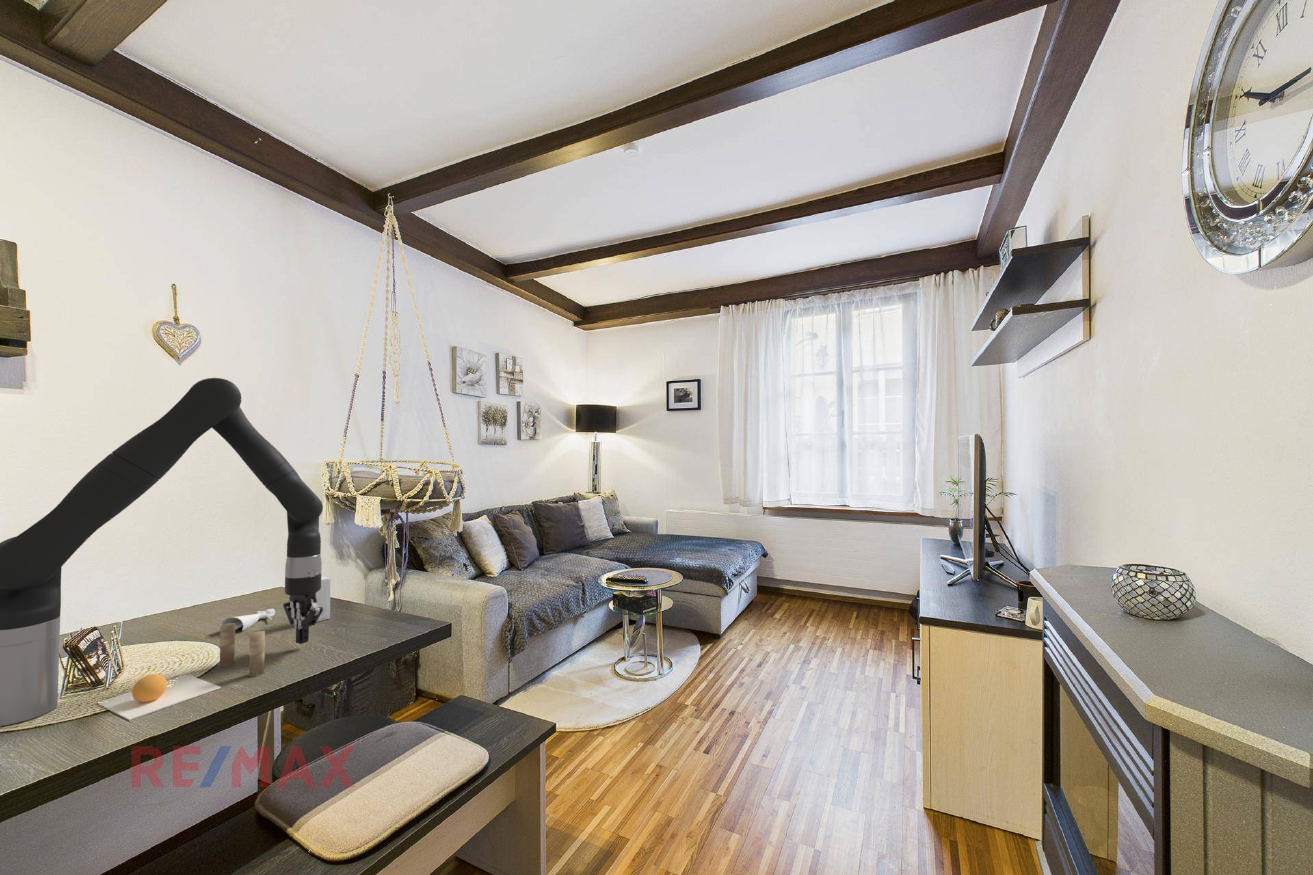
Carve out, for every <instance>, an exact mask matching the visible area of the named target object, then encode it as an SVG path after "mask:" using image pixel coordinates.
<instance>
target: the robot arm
mask: <svg viewBox="0 0 1313 875" xmlns="http://www.w3.org/2000/svg"><path fill="white" fill-rule="evenodd" d="M241 403H242V394H241V391H240V389H239V388H238V386H237V385H236V384H235V383H234V382H232V381H230V380H228V379H225V378H221V377H208V378H204V379H201V380H199V381H197V382H196V383H194V384H192V386H191V387H190V388H189V389H188V391H186V393H185V394H184V395H183V396H182V397H181V399H180V400H178V402H176V404H175V405H173V407H171V409H169V410H168V411H167V412H166V413H165V414H164V415H162V416H161V417H160V418H159V419H158V420H156V421H155V422H153V423H152V424H150V425H149V426H147V427H146V428H144V429H142V430H141V431H139V432H138V433H137V434H135V435H134V436H133V437H131V438H129V439H128V440H126V441H125V442H124V443H122V444H121V445H120V446H118V447H117V448H115V449H114V450H113V451H112V452H111V453H109V454H108V455H106V456H105V457H104V458H103V459H102V460H100V462H98V463H97V464H95V466H94V467H93V468H91V469H90V470H89V471H88V472H87V473H86V474H85V475H84V476H83V477H82V478H81V479H80V480H79V481H78V482H76V484H75V485H74V486H73V487H72V488H71V490H69V492H67V494H66V495H65V496H64V497H63V498H62V500H61V501H60V502H59V503H58V504H56V506H55V507H54V508H53V509H52V510H51V511H50V512H49V513H47V514H46V515H44V516H43V517H42V518H41V519H39V520H38V521H36V522H35V523H34V524H32V525H31V526H30V527H28V528H27V529H25V530H24V531H22V532H21V533H20V534H18V535H17V536H13V537H10V538H8V539H5V540H3V541H0V727H4V726H10V725H13V724H17V723H21V722H22V723H23V722H25V721H29V720H32V719H34V718H37V717H41V716H43V715H45V714H47V713H49V712H51V711H52V710H54V709H56V708H57V707H58V701H59V675H60V674H59V672H60V671H59V667H60V665H59V664H60V643H61V642H60V639H61V637H60V636H61V635H60V634H61V610H62V608H61V606H62V588H61V587H62V567H63V566H64V565H65V564H66V562H67V561H68V560H69V559H70V558H71V557H72V556H73V555H74V554H75V552H77V550H78V549H80V547H82V546H83V544H84V543H85V542H86V541H88V539H89V538H90V537H92V535H93V534H94V533H96V532H97V531H98V530H99V529H100V528H102V527H103V526H104V525H106V524H107V523H108V522H110V521H111V520H113V519H114V518H115V517H116V516H118V515H119V514H120V513H121V512H123V511H124V510H125V509H127V508H128V507H129V506H130V505H132V504H133V503H134V502H136V501H137V500H138V499H139V498H140V497H141V496H143V495H144V494H145V493H146V492H147V491H148V490H150V489H151V488H153V486H155V484H157V483H158V482H159V481H160V480H161V479H162V478H163V477H164V476H165V475H166V474H167V473H168V472H169V471H170V470H171V469H172V468H173V467H174V466H175V465H176V464H177V462H178V461H179V460H180V459H181V458H182V457H183V455H185V453H186V452H187V451H188V449H190V448H191V446H192V445H193V444H194V443H195V442H196V441H197V440H198V439H199V438H200V437H201V436H203V435H204V434H205V433H207V432H208V431H210V430H211V429H212V430H214V431H215V432H216V433H217V434H219V435H220V436H221V437H222V438H223V439H224V440H225V442H227V444H228V445H229V446H230V447H231V448H232V449H233V451H235V453H237V455H238V456H239V457H240V458H241V460H242V461H243V462H244V463H245V465H246V466H247V468H248V469H249V470H250V471H251V472H252V473H253V474H254V476H255V477H256V478H257V479H258V480H259V481H260V482H261V484H262V485H263V486H264V487H265V488H266V490H268V491H269V492H270V493H271V494H272V495H273V496H274V497H275V498H276V499H277V500H278V502H279V504H280V505H281V506H282V507H283V509H284V510H285V512H286V519H287V520H286V521H287V524H286V525H287V542H286V561H285V566H284V567H285V568H284V571H285V572H284V594H285V595H286V596H287V595H288V596H289V601H287V602H284V603H283V604H282V607H283V609H284V611H285V615H286V616H287V619H288V622H289V624H290V625H292V626H293V628H294V629H295V643H296V644H299V645H302V644H306V643H308V642H309V639H310V638H309V636H310V634H309V633H310V632H309V631H310V629H309V628H310V627H312V626H315V625H316V624H317V623H318V622H317V620H318V618H319V617H320V615H321V613H322V611H323V607H318V606H317V604H316V603H317V598H316V592H317V591H319V590H320V589H321V577H322V565H323V564H322V556H321V550H322V547H321V546H322V544H321V543H322V540H321V532H320V529H319V527H320V516H321V515H322V513H323V506H324V505H323V502H322V500H321V499H320V498H319V496H317V494H316V493H315V492H314V491H313V490H312V489H311V488H310V486H308V485H307V484H306V483H305V482H304V481H303V480H302V479H301V477H300V475H299V474H298V472H297V471H296V469H295V468H294V467H293V466H292V465H291V464H290V462H289V461H288V460H287V459H286V458H285V456H284V455H283V454H282V452H280V451H279V450H278V449H277V447H275V446H274V445H273V444H272V443H270V442H269V440H267V439H266V438H265V437H264V436H263V435H262V434H261V433H260V432H259V431H258V430H257V429H256V428H255V427H254V425H253V424H252V423H251V422H250V421H249V419H248V418H247V417H246V414H245V413H244V412H243V409H242V407H241Z"/></svg>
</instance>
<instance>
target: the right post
mask: <svg viewBox="0 0 1313 875" xmlns="http://www.w3.org/2000/svg"><path fill="white" fill-rule="evenodd" d="M265 640H266V631H265V630H257V631H254V632H251V633H250V634H249V663H248V664H249V669H248V673H249V674H248V676H249V677H252V678H253V677H258V676H261V675H263V674H264V673H265V651H266V650H265V649H266V647H265V645H266V644H265V642H266V641H265Z"/></svg>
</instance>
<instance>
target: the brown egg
mask: <svg viewBox="0 0 1313 875" xmlns="http://www.w3.org/2000/svg"><path fill="white" fill-rule="evenodd" d="M167 684H168V683H167V679H166V677H165V676H163V675H161V674H157V673H155V674H154V673H153V674H148V675H146V676H143V677H142V678H139V680H137V681H136V682H135V684H134V685H133V687H132V689H131V692H132V696H133V698H134V699H135V700H136V701H139V702H150V701H153V700H156V699H157V698H159V697H160V696H161V695H162V694H163V693H164V692H165V691H166V689H167Z"/></svg>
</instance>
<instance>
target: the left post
mask: <svg viewBox="0 0 1313 875" xmlns="http://www.w3.org/2000/svg"><path fill="white" fill-rule="evenodd" d="M235 646H236V630H235V623H227V624H223V625H221V630H220V639H219V667H228V666H231V665H233V664H235V656H236V654H235V652H236V651H235V649H236V648H235Z"/></svg>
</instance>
